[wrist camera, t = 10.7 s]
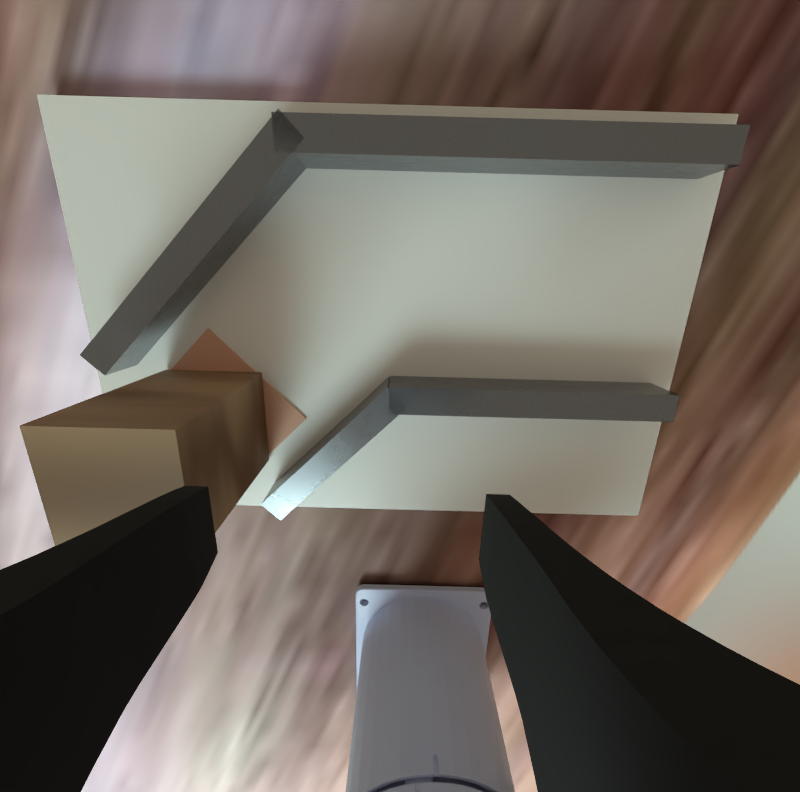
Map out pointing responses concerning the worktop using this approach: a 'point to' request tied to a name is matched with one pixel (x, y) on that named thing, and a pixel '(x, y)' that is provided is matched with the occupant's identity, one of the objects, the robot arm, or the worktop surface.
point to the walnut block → (149, 447)
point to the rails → (425, 152)
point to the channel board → (399, 294)
